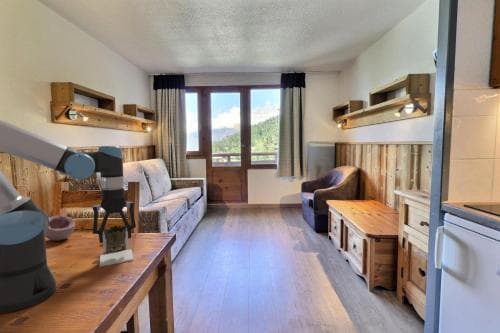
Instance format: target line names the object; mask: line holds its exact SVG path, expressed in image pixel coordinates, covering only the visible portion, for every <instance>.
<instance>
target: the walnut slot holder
mask: <svg viewBox="0 0 500 333" xmlns="http://www.w3.org/2000/svg"><path fill="white" fill-rule="evenodd" d="M124 250H127V248H126V240H125V241H124V243H123V244H122V247H121V249H120V250H116V251H113V250H111V246H109V245H108V244H107V242H106V252H105V254H107V253H113V252H119V251H124Z"/></svg>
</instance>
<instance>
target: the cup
mask: <svg viewBox="0 0 500 333" xmlns="http://www.w3.org/2000/svg"><path fill="white" fill-rule="evenodd" d="M126 229H127V228H126V226H124V225H122V226H120V225H119V226H116V225H114V226H111V227H110V229H108V228H104V231H103V232H104V234H105V240H106V242H107V244H108V245H109V246H111V250H113V251H116V250H120V249H121V247H122V244H123V243H124V241H125V242H126Z"/></svg>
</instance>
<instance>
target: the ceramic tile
mask: <svg viewBox="0 0 500 333" xmlns="http://www.w3.org/2000/svg"><path fill="white" fill-rule="evenodd" d="M132 250H133V249H126V250H122V251H117V252H111V253H102V254H100V255H99V267H105V266H111V265H116V264H121V263H126V262H132V261H134V260H135V259H134V254H133V251H132Z"/></svg>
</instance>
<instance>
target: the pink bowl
mask: <svg viewBox="0 0 500 333" xmlns="http://www.w3.org/2000/svg"><path fill="white" fill-rule="evenodd" d="M48 220H49V228H48V231H47V233H46V237H45V239H46V238H47V239H48V240H51V241H55V242H57V241H63V240H65V239H68V238H69V237H70V236H71V235H72V234H73V233H74V231H75V228H76V223H75V222H76V221H74V219H73V218H71V216H70V217H69V216H67V215H61V214H59V215H58V214H57V215H51V216H50V217H49V216H48Z"/></svg>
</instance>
